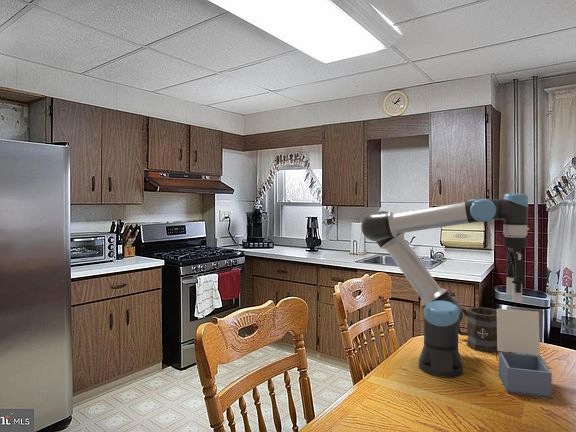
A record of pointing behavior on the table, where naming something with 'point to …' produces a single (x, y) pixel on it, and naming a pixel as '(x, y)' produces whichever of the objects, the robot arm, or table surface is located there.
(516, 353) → the packaged food
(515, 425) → the table surface
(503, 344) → the lid
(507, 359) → the box
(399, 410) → the table surface
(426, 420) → the table surface
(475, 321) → the mug
